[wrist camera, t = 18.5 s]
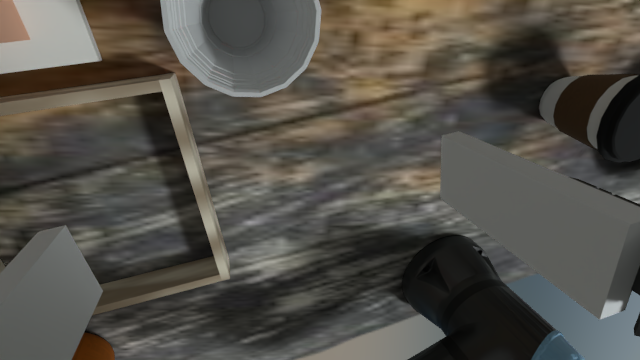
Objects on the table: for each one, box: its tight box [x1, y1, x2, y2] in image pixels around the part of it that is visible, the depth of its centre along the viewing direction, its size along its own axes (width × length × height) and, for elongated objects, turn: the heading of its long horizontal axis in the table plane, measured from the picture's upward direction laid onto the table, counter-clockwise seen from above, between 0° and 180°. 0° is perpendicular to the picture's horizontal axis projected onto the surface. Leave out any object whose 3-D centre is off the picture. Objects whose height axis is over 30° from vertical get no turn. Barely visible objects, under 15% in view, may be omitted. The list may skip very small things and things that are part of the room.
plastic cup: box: [160, 0, 321, 97], centre depth 28 cm, size 11×11×12 cm
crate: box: [0, 73, 230, 315], centre depth 35 cm, size 24×24×4 cm
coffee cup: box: [539, 74, 640, 163], centre depth 43 cm, size 11×11×12 cm
